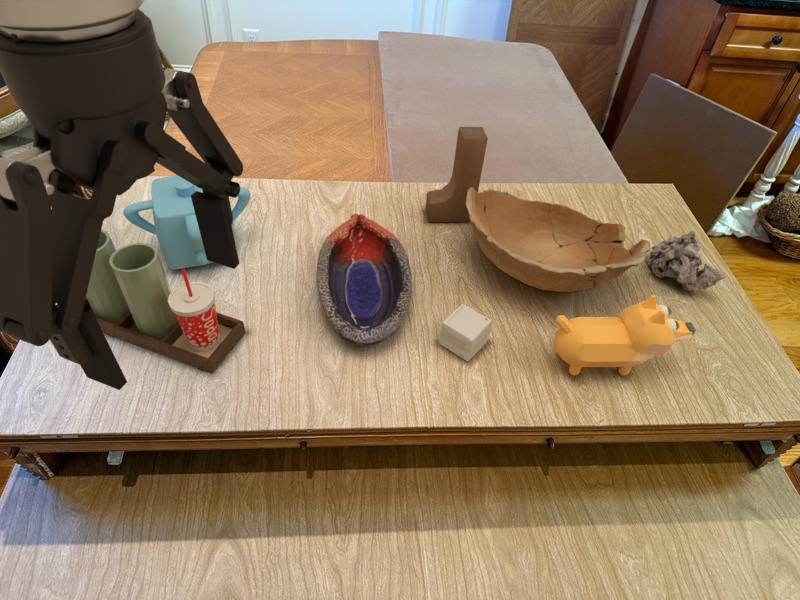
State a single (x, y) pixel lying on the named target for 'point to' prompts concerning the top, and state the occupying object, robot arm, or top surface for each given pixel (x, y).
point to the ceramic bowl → (549, 242)
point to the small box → (465, 332)
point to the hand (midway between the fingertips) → (171, 314)
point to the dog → (619, 337)
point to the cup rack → (177, 340)
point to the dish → (363, 281)
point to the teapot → (177, 220)
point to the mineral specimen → (683, 263)
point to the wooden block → (459, 178)
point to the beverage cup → (196, 313)
